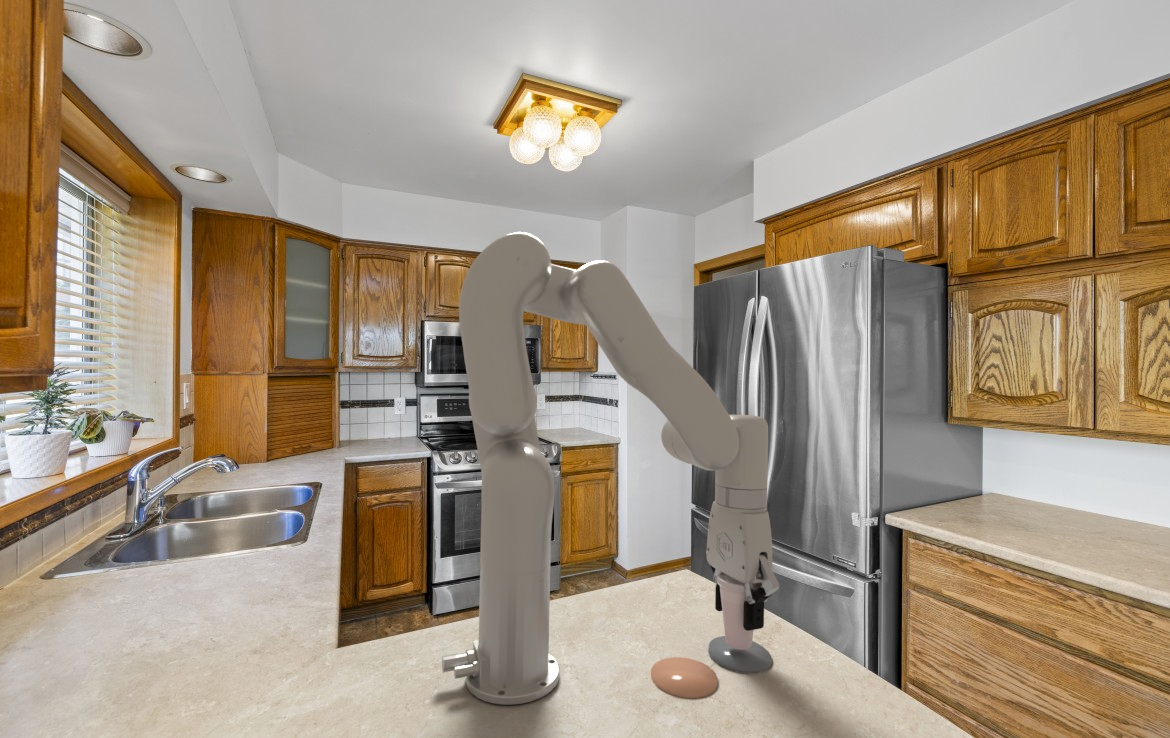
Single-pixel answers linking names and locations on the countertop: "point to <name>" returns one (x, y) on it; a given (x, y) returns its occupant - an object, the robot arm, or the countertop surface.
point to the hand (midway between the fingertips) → (738, 617)
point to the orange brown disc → (684, 677)
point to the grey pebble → (739, 656)
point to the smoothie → (734, 612)
